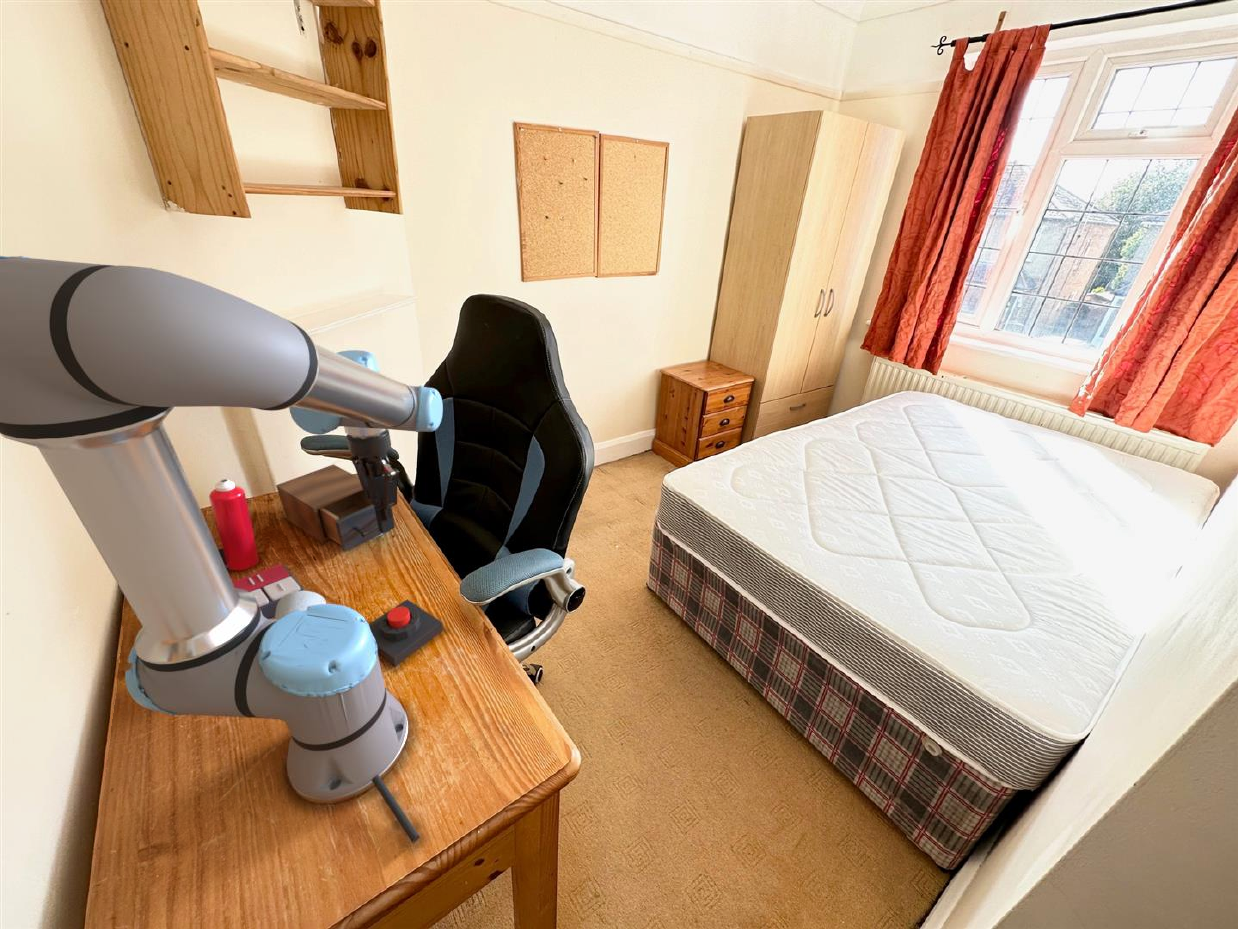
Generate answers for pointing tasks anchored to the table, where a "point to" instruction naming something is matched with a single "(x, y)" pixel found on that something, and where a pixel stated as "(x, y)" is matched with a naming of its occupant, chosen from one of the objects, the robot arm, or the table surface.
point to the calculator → (269, 587)
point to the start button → (398, 617)
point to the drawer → (350, 521)
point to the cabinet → (315, 496)
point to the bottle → (234, 525)
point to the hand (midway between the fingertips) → (386, 529)
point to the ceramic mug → (297, 602)
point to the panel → (404, 634)
